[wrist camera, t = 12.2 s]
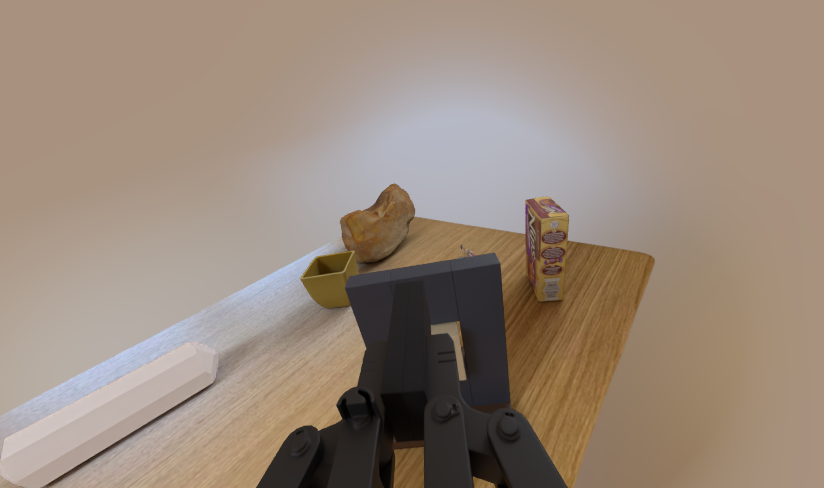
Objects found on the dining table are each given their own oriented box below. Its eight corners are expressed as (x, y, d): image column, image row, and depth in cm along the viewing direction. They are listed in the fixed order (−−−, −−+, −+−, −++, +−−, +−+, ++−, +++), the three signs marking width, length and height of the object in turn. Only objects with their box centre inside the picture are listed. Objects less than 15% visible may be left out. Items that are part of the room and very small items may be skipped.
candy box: (566, 300, 48) (570, 214, 41) (538, 303, 48) (538, 219, 42) (549, 271, 55) (550, 195, 49) (525, 273, 56) (523, 199, 50)
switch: (466, 381, 29) (459, 336, 26) (417, 387, 30) (405, 344, 27) (463, 363, 31) (456, 320, 28) (417, 369, 31) (406, 327, 29)
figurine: (459, 263, 64) (455, 239, 62) (479, 262, 63) (476, 237, 61) (457, 276, 60) (453, 251, 57) (479, 275, 59) (476, 249, 56)
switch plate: (519, 437, 31) (510, 283, 22) (391, 449, 32) (335, 309, 24) (492, 350, 42) (480, 223, 33) (397, 362, 43) (361, 243, 34)
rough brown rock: (387, 227, 94) (371, 183, 88) (428, 228, 83) (413, 178, 77) (332, 265, 79) (309, 215, 73) (373, 273, 68) (350, 215, 62)
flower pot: (328, 290, 65) (314, 255, 61) (366, 285, 64) (354, 249, 60) (315, 317, 57) (298, 279, 53) (358, 311, 56) (344, 272, 52)
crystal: (209, 333, 52) (15, 435, 40) (203, 334, 46) (-28, 455, 34) (230, 369, 52) (42, 482, 40) (226, 374, 46) (4, 510, 34)
